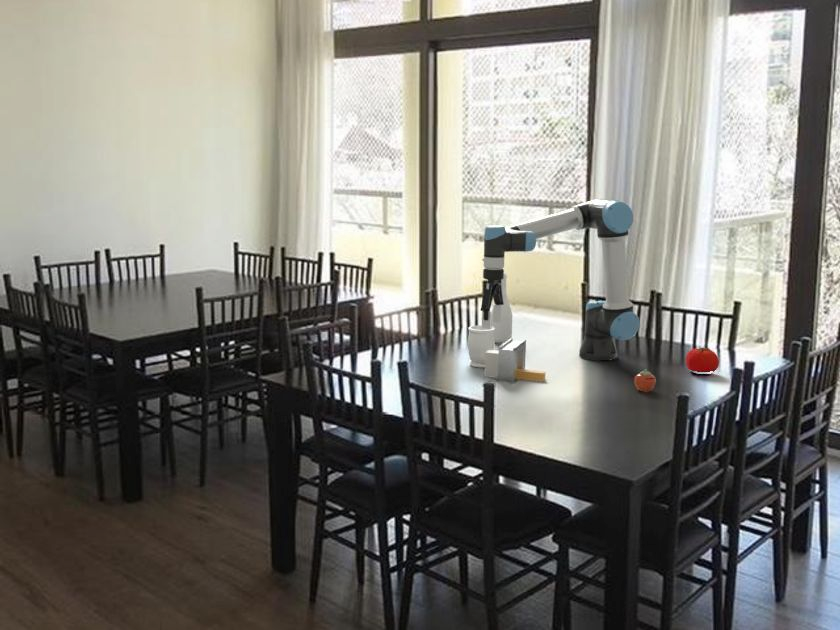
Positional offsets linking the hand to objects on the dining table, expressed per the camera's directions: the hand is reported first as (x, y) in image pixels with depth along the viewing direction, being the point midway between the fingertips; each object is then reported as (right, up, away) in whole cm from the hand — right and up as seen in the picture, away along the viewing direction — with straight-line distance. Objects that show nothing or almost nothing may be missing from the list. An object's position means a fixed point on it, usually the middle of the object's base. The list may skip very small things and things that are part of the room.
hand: (491, 325), depth 323 cm
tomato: (+80, -19, +9) cm, 83 cm away
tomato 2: (+52, -23, -16) cm, 59 cm away
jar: (-3, -16, +17) cm, 24 cm away
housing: (+7, -19, +1) cm, 21 cm away
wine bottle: (+9, -8, +61) cm, 62 cm away
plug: (+8, -19, +1) cm, 21 cm away
